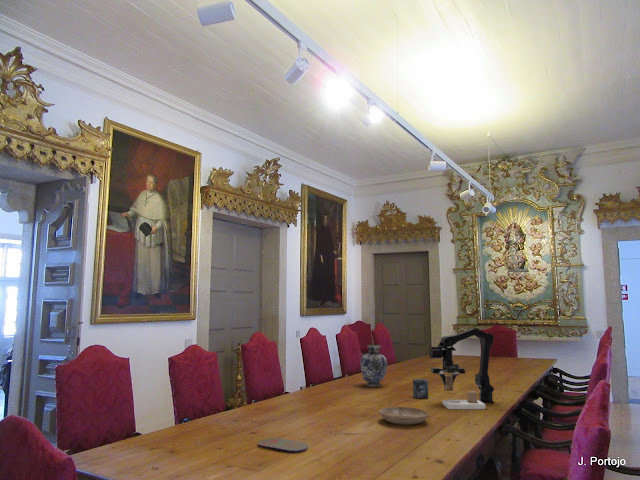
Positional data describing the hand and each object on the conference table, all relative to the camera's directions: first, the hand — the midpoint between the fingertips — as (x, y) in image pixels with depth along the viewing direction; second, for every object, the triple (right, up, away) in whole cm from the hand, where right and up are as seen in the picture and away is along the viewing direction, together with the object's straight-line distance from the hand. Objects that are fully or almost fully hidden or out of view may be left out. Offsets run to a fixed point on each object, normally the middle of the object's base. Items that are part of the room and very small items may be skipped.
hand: (448, 385), depth 272 cm
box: (-13, -11, +13) cm, 22 cm away
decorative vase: (-37, -17, +53) cm, 67 cm away
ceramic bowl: (-34, -4, -46) cm, 57 cm away
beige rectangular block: (0, -3, 0) cm, 3 cm away
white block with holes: (+5, -8, -12) cm, 15 cm away
